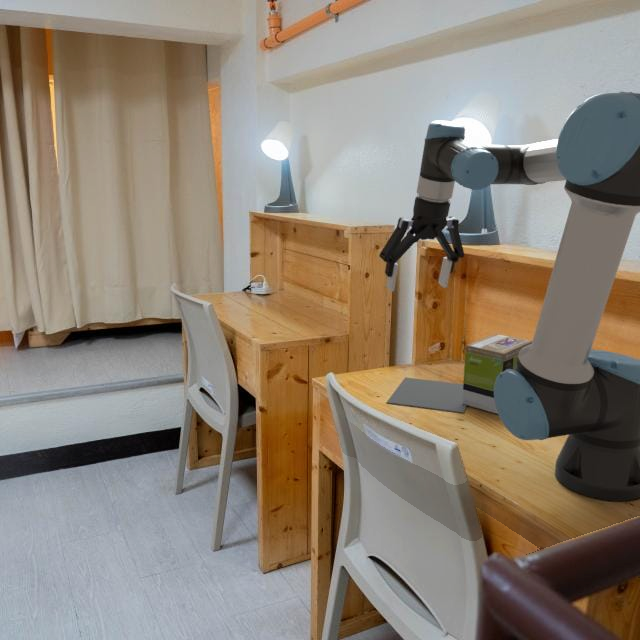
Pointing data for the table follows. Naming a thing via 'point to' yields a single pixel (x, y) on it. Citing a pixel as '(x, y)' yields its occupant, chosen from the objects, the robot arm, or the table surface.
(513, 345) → the tea box
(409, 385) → the desk pad
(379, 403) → the table surface
